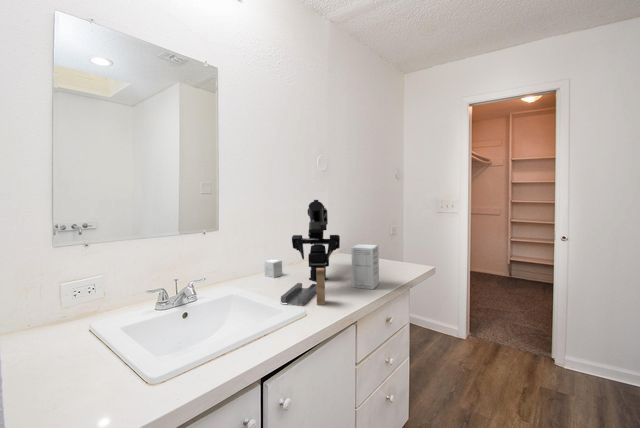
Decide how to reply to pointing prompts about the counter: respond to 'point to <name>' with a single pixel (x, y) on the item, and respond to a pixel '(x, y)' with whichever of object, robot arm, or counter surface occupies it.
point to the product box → (273, 268)
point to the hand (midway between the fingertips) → (315, 258)
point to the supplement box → (365, 266)
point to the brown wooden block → (320, 286)
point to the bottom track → (298, 294)
